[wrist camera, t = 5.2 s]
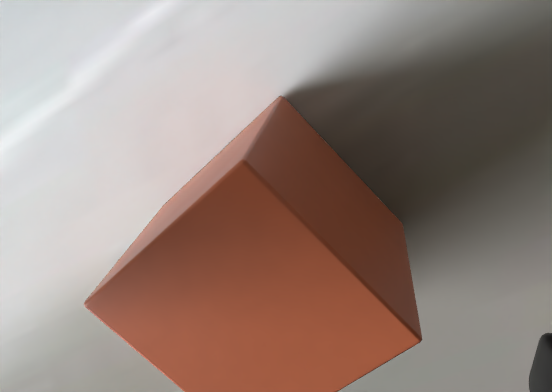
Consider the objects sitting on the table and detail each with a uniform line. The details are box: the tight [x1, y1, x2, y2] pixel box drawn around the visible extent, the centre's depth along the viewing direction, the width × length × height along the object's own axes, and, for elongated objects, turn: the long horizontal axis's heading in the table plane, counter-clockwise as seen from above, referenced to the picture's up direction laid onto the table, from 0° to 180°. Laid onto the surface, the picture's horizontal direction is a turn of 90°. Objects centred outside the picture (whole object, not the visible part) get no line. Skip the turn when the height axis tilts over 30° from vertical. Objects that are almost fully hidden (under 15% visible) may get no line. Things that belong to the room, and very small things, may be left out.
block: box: [84, 96, 422, 392], centre depth 10 cm, size 4×4×4 cm
